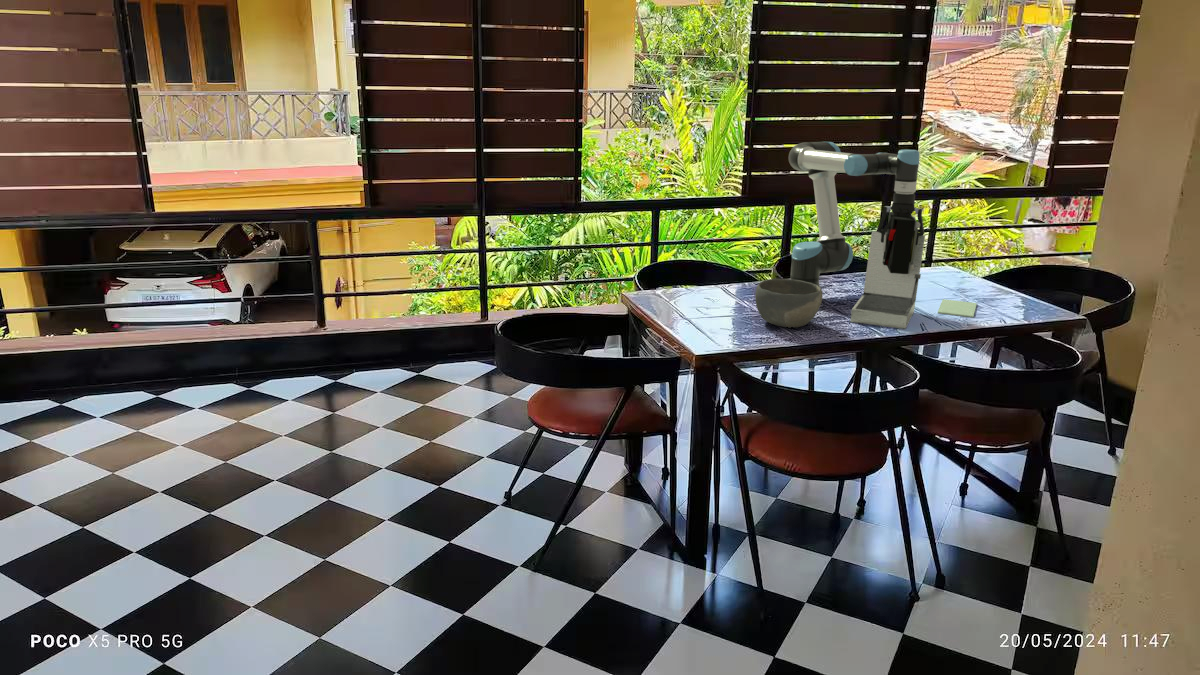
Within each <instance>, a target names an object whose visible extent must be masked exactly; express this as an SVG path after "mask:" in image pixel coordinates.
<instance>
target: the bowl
mask: <svg viewBox="0 0 1200 675" xmlns="http://www.w3.org/2000/svg"><path fill="white" fill-rule="evenodd" d="M754 294H755V296H754V299H755V305H756V309H757V311H758V314H759V315H760V317H761V318H762V319H763V320H764V321H766V322H767V323H769V324H772V325H774V326H778V327H782V328H786V327H788V328H790V329H791V327H793V328H796V329H797V328H800V327H804V326H806V325H807V324H809V323H810V322H811V321H812V320H813V319H814V318H815V316H817V315H816V314H817V313H818V312H819V309H820V307H821V305H822V302H823V290H822V288H821V286H820V287H819V286H818V285H816V284H813V283H809V282H805V281H800V280H793V279H790V278H789V279H788V278H771V279H766V280H763V281H761V282H759V283H758V284H757V285H756V289H755V293H754Z"/></svg>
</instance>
